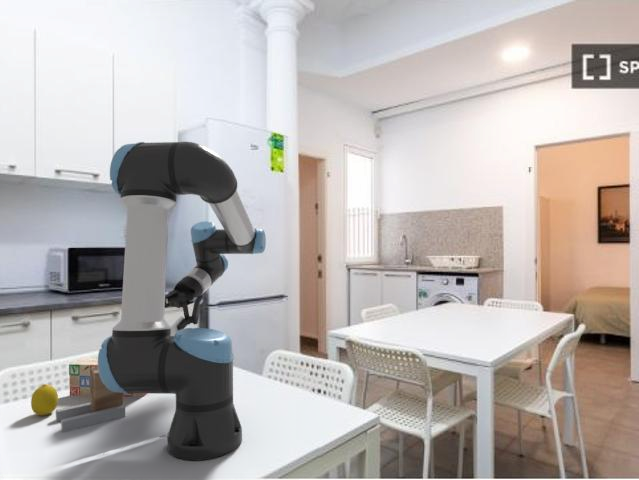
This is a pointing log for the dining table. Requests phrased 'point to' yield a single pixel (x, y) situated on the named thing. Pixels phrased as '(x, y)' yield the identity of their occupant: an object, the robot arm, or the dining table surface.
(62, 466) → the dining table surface
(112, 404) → the block
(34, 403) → the lemon
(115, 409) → the chute
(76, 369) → the stack of blocks
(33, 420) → the dining table surface
